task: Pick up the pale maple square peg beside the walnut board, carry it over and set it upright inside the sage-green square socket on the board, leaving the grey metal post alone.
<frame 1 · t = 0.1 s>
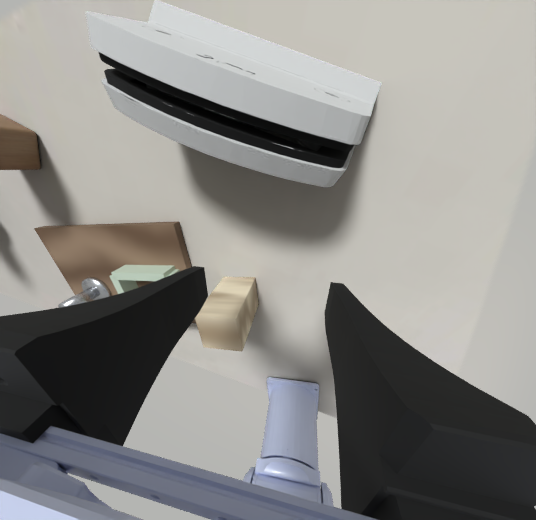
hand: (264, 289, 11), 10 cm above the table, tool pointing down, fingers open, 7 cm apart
maple peg: (241, 290, 24), on the table
wooden block: (26, 143, 21), on the table
metal post: (98, 289, 27), resting on walnut board
socket collar: (159, 292, 25), resting on walnut board
grey piece: (259, 109, 16), on the table
walnut board: (128, 274, 26), on the table
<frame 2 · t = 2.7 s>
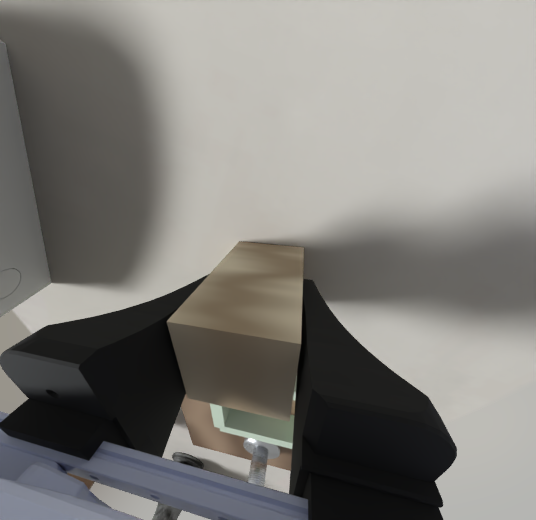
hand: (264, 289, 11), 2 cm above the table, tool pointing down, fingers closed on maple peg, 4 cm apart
maple peg: (269, 272, 12), on the table, touching gripper
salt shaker: (188, 459, 30), on the table
metal post: (262, 443, 21), resting on walnut board
socket collar: (263, 389, 16), resting on walnut board
grey piece: (26, 189, 14), on the table
walnut board: (246, 403, 20), on the table
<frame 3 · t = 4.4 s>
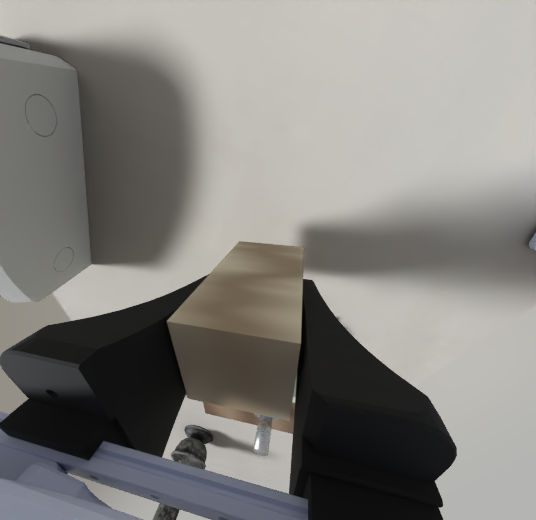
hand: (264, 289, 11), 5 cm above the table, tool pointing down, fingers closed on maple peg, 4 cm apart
maple peg: (269, 272, 12), point 4 cm above the table, touching gripper
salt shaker: (199, 432, 33), on the table
metal post: (267, 407, 24), resting on walnut board
grey piece: (78, 183, 17), on the table
walnut board: (253, 371, 23), on the table
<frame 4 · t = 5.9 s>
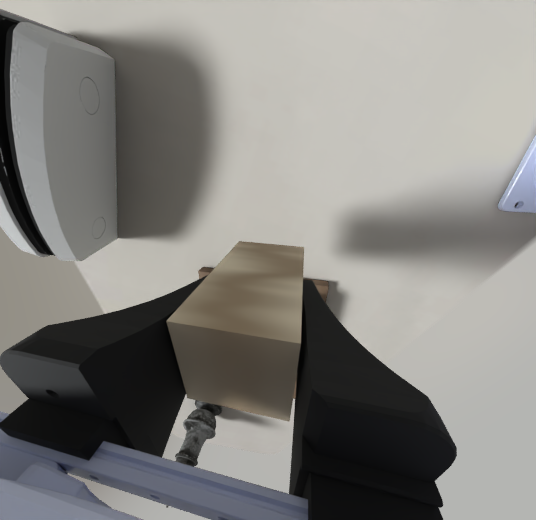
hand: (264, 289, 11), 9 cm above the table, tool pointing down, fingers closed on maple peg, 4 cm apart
maple peg: (269, 272, 12), point 7 cm above the table, touching gripper
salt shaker: (208, 405, 36), on the table
grey piece: (108, 162, 19), on the table
walnut board: (261, 338, 25), on the table
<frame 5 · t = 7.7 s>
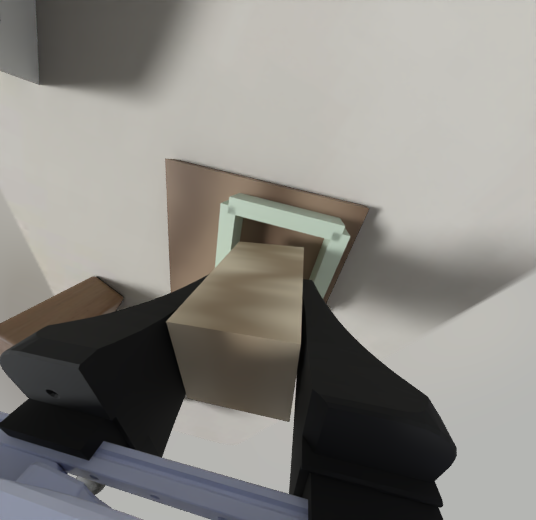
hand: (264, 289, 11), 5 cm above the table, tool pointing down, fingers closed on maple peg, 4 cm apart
maple peg: (269, 272, 12), point 4 cm above the table, touching gripper
wooden block: (107, 294, 22), on the table
socket collar: (275, 256, 15), resting on walnut board
walnut board: (245, 292, 18), on the table
when the fingers open (4 cm above the table, at t = 9.1 s): maple peg drops 1 cm, resting on walnut board.
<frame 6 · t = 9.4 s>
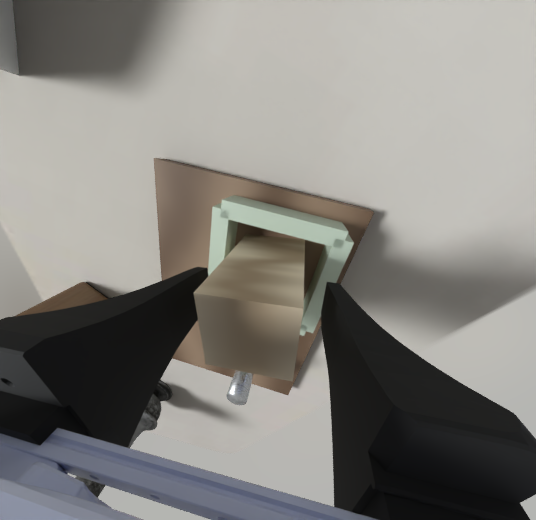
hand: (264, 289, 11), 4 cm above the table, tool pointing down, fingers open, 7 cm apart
maple peg: (273, 262, 14), point 1 cm above the table, touching walnut board
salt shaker: (155, 386, 27), on the table
wooden block: (97, 300, 21), on the table
metal post: (250, 351, 18), resting on walnut board
socket collar: (273, 262, 14), resting on walnut board
walnut board: (241, 299, 17), on the table
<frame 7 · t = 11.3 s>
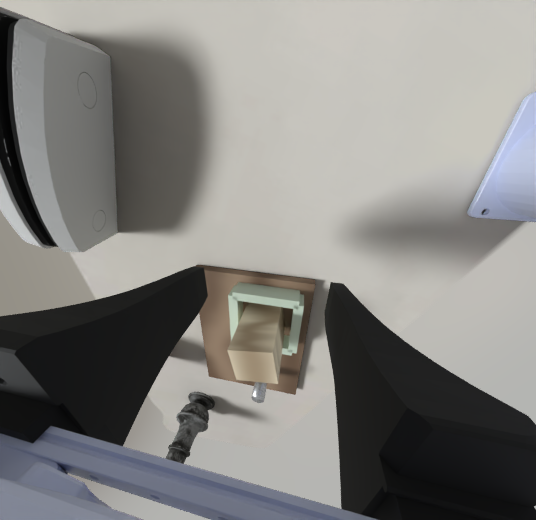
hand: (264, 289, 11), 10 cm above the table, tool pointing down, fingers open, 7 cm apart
maple peg: (267, 313, 23), point 1 cm above the table, touching walnut board
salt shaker: (202, 399, 37), on the table
metal post: (264, 367, 27), resting on walnut board
socket collar: (267, 313, 23), resting on walnut board
grey piece: (107, 157, 20), on the table
walnut board: (252, 334, 26), on the table
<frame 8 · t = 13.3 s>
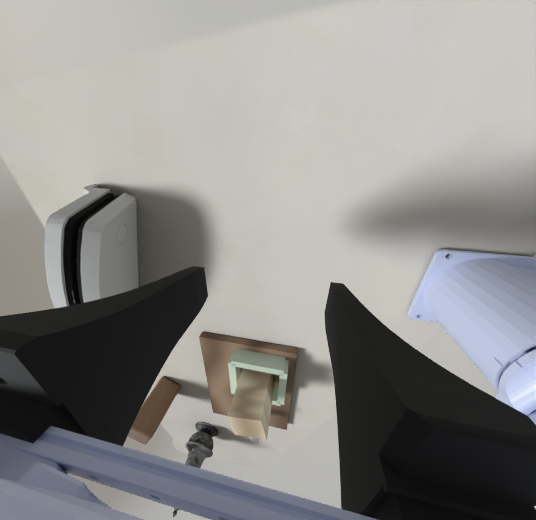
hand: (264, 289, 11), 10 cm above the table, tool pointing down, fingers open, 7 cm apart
maple peg: (260, 371, 28), point 1 cm above the table, touching walnut board
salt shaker: (207, 427, 42), on the table
wooden block: (170, 383, 37), on the table
socket collar: (260, 371, 28), resting on walnut board
grey piece: (131, 255, 25), on the table
walnut board: (249, 382, 32), on the table
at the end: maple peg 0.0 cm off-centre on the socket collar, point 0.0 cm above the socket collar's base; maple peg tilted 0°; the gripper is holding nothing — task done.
